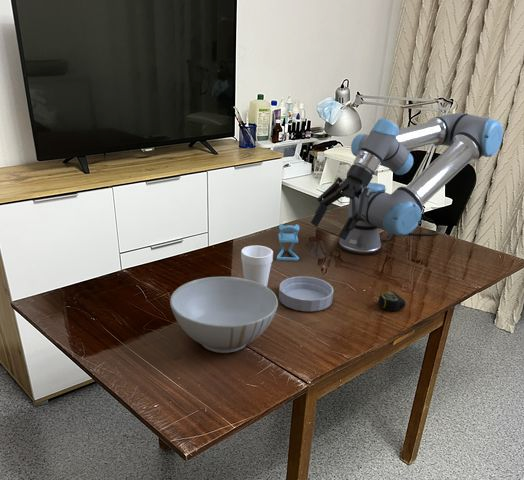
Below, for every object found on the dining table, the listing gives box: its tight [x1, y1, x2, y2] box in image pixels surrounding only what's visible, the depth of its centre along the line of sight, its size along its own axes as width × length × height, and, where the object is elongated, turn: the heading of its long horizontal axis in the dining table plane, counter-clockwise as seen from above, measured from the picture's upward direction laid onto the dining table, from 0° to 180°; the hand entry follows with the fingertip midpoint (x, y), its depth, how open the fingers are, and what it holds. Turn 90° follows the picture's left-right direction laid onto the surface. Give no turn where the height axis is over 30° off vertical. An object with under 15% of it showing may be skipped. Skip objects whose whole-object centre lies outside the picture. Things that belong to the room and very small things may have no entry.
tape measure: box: [378, 291, 407, 311], centre depth 162 cm, size 7×7×4 cm
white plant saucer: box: [278, 275, 335, 312], centre depth 164 cm, size 16×16×4 cm
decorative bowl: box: [169, 276, 279, 354], centre depth 140 cm, size 27×27×12 cm
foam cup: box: [240, 245, 274, 287], centre depth 165 cm, size 10×9×13 cm
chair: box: [276, 223, 300, 262], centre depth 190 cm, size 8×8×12 cm
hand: (327, 231), depth 171 cm, fingers open, 13 cm apart
